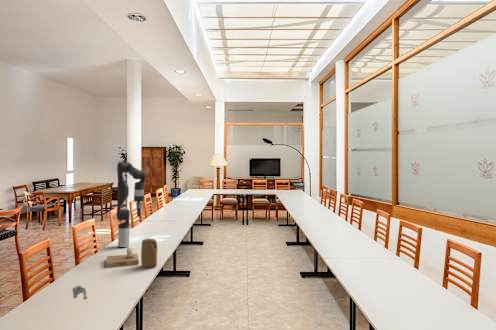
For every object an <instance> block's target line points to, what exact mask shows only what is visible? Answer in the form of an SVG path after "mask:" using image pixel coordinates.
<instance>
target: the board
mask: <svg viewBox="0 0 496 330" xmlns="http://www.w3.org/2000/svg"><path fill="white" fill-rule="evenodd" d="M138 264H140V261H139V256H138V253H132V259H127V254H120V255H119V254H117V255H107V256H106V267H105V268H106V269H107V268H118V267H117V266H119V267H126V266H127V267H128V266H136V265H137V266H139V265H138Z"/></svg>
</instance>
